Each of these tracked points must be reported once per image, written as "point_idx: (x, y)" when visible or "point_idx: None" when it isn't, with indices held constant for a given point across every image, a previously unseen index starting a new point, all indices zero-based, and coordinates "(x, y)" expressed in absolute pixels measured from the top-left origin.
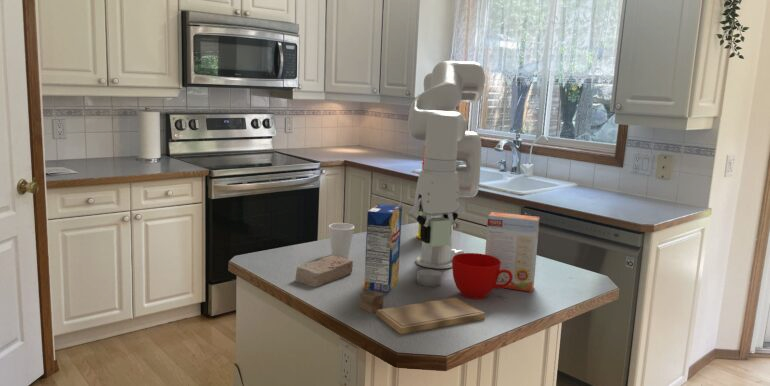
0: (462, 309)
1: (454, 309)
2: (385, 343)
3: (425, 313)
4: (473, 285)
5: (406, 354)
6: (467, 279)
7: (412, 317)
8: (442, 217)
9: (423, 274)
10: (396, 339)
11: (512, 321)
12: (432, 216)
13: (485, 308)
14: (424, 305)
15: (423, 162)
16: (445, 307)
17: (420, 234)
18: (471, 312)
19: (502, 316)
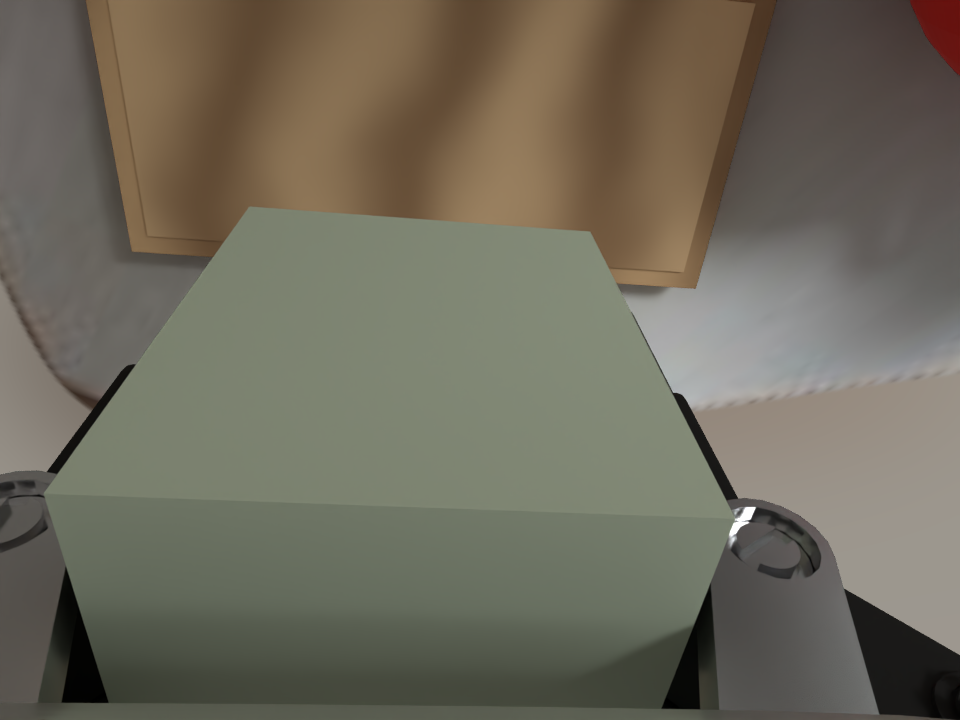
0: (622, 198)
1: (579, 177)
2: (27, 289)
3: (371, 148)
4: (932, 40)
5: (91, 410)
6: (936, 4)
7: (260, 162)
8: (640, 665)
9: None
10: (100, 276)
11: (772, 353)
12: (455, 520)
13: (824, 158)
14: (449, 20)
15: None
16: (553, 122)
17: (110, 395)
18: (632, 256)
19: (791, 288)
